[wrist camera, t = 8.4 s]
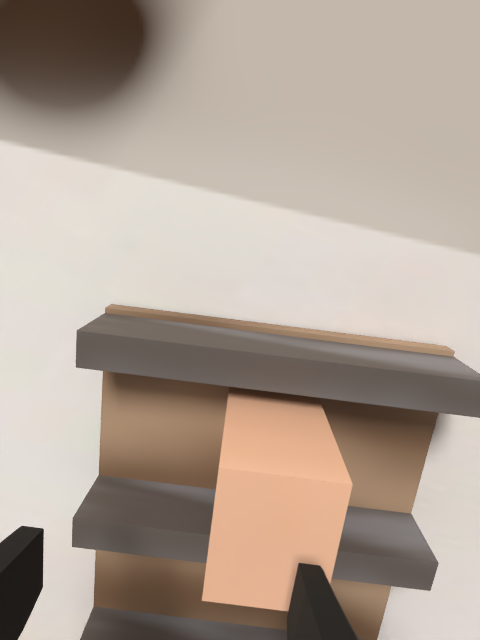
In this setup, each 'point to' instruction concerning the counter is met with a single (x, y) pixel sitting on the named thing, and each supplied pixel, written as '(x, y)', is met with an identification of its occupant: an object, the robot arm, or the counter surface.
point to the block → (274, 499)
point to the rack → (204, 456)
